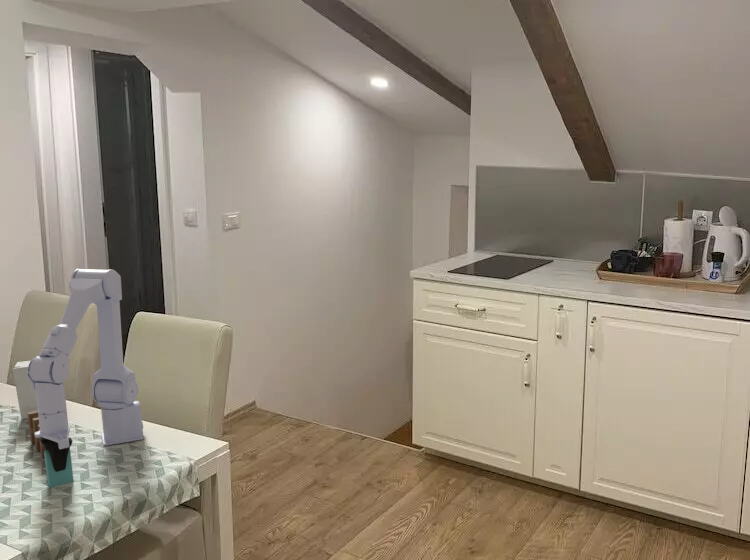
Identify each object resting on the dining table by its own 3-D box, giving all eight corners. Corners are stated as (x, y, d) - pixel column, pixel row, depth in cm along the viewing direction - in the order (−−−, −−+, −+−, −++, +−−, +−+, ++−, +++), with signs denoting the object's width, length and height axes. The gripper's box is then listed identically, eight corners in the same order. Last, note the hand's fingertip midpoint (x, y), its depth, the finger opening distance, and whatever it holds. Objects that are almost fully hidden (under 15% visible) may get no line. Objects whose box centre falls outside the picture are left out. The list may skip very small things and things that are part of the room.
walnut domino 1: (30, 442, 190) (27, 412, 188) (52, 437, 193) (48, 407, 191) (32, 444, 189) (28, 414, 187) (53, 439, 192) (50, 409, 190)
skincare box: (56, 409, 212) (50, 357, 209) (52, 417, 206) (46, 364, 203) (23, 412, 210) (17, 360, 207) (18, 420, 204) (12, 367, 201)
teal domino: (47, 485, 168) (43, 451, 166) (71, 478, 171) (67, 444, 169) (49, 487, 166) (45, 453, 165) (73, 481, 169) (69, 447, 168)
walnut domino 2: (36, 449, 186) (32, 418, 184) (57, 444, 189) (53, 413, 187) (37, 451, 185) (33, 420, 183) (59, 446, 188) (55, 415, 186)
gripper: (24, 404, 168) (31, 462, 171) (41, 424, 157) (48, 485, 160) (57, 397, 173) (64, 453, 175) (76, 416, 161) (83, 476, 164)
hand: (58, 468), depth 168 cm, fingers closed on teal domino, 2 cm apart
